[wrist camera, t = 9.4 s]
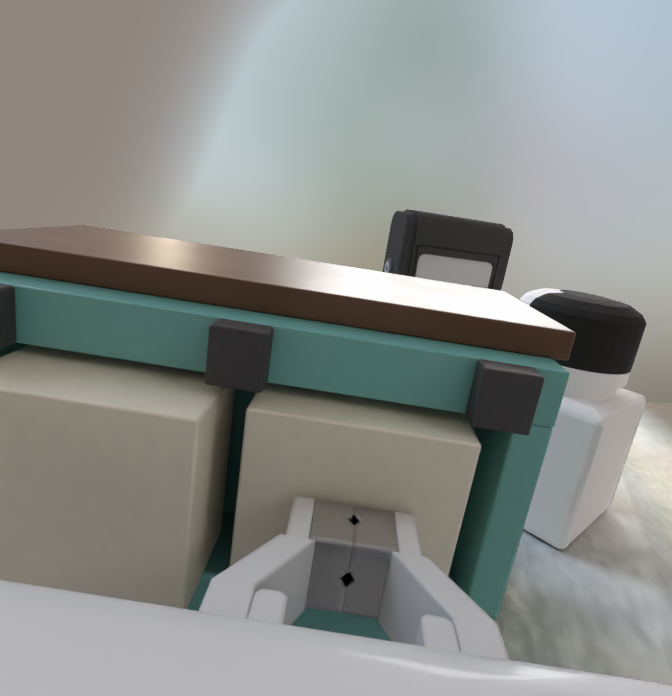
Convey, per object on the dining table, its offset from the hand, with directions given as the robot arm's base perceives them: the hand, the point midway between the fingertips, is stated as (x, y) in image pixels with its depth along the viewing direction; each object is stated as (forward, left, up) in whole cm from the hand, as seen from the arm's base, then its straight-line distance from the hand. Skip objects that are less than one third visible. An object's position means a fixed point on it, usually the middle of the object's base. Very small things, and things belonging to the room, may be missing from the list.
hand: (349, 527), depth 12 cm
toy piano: (+5, -4, -7) cm, 10 cm away
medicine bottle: (-4, -19, -7) cm, 20 cm away
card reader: (+7, -28, -7) cm, 30 cm away
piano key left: (+6, +2, -3) cm, 7 cm away
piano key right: (+1, -2, -3) cm, 3 cm away
